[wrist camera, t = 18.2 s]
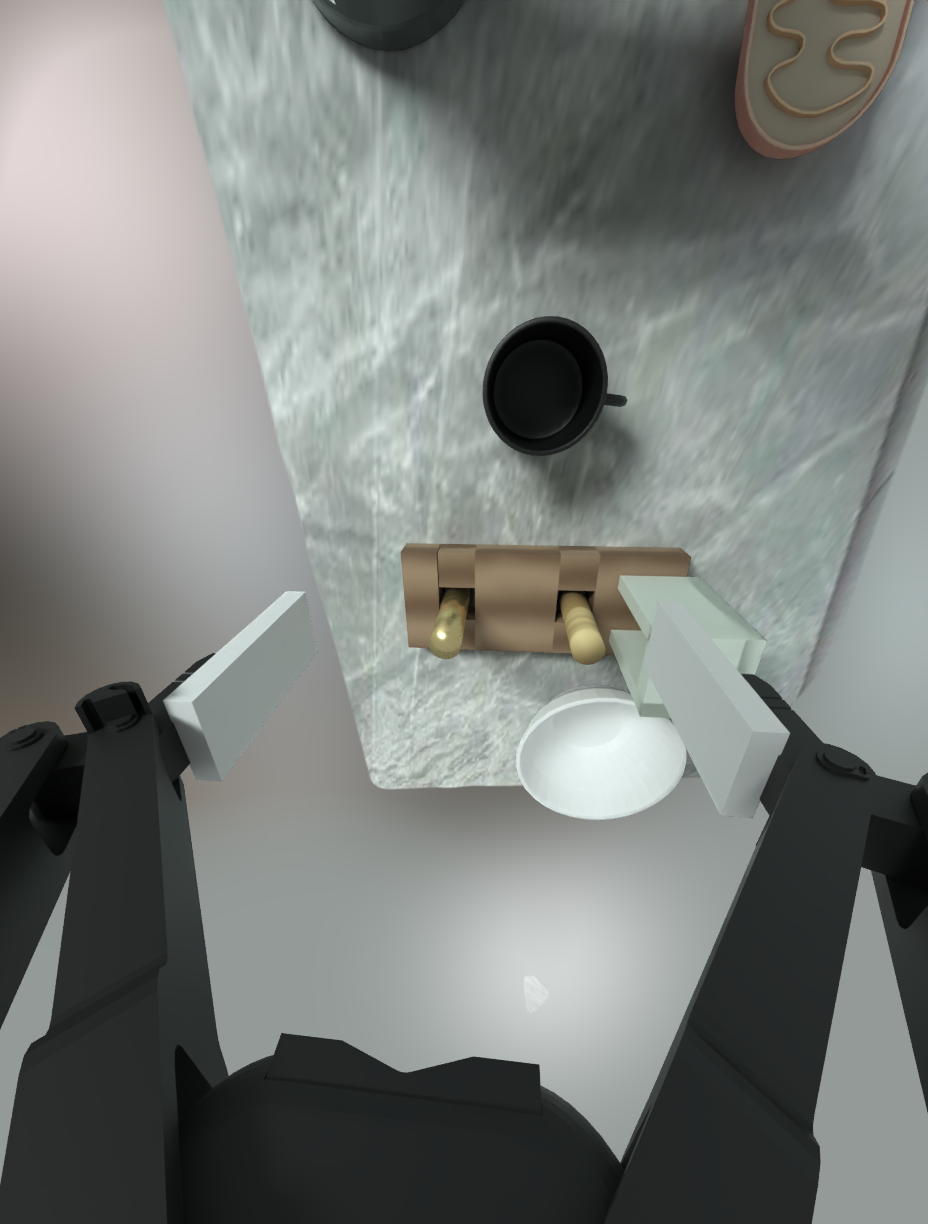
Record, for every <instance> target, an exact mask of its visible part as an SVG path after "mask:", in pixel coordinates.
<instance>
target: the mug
mask: <svg viewBox="0 0 928 1224" xmlns="http://www.w3.org/2000/svg"><path fill="white" fill-rule="evenodd" d="M607 387H608V373H607V366H606V362H605V358H604V355H603V352H602V350H601V348H600V346H599V344H598V343H597V341H596V340H595V338H594V337H593V336H592V335H591V334H590V333H589V332H588V331H587V330H586V329H585V328H584V327H582V326H581V325H579V324H578V323H576V322H574V321H571V320H569V319H566V318H562V317H555V316H546V317H539V318H535V319H532V320H529V321H527V322H525V323H523V324H521V325H519V326H517V327H516V328H515V329H513V330H512V331H511V332H509V333H508V334H507V335H506V336H505V337H504V338H503V340H502V341H501V342H500V343H499V344H498V346H497V347H496V349H495V350H494V352H493V354H492V356H491V358H490V360H489V362H488V365H487V368H486V371H485V376H484V381H483V404H484V408H485V412H486V416H487V418H488V421H489V423H490V425H491V427H492V428H493V430H494V431H495V433H496V434H497V435H498V437H499V438H500V439H501V440H502V441H503V442H504V443H506V444H507V445H508V446H510V447H511V448H513V449H515V450H517V451H519V452H522V453H525V454H529V455H536V456H544V455H552V454H555V453H559V452H561V451H564V450H566V449H568V448H570V447H571V446H573V445H575V444H576V443H577V442H579V441H580V440H581V439H582V438H583V437H584V436H585V435H586V434H587V433H588V432H589V431H590V430H591V428H592V427H593V426H594V424H595V422H596V421H597V419H598V417H599V415H600V413H601V411H602V408H603V406H604V405H611V406H618V407H621V406H624V405H626V402H627V399H626V397H625V396H621V395H614V394H607Z"/></svg>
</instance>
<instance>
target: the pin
mask: <svg viewBox="0 0 928 1224" xmlns="http://www.w3.org/2000/svg"><path fill="white" fill-rule="evenodd" d="M470 594H471V593H470V589H469V588H453V587H447V588H446V591H445V594H444V597H443V600H442V603H441V606H440V610H439V613H438V616H437V619H436V622H435V625H434V629H433V632H432V635H431V638H430V641H429V647H430V650H431V652H432V653H433V654H434V655H435V656H437V657H439V658H442V659H450V658H453V657H455V656H456V655H457V654H458V653H459V651H460V648H461V643H462V638H463V632H464V627H465V621H466V616H467V611H468V605H469V600H470Z"/></svg>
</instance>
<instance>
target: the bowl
mask: <svg viewBox="0 0 928 1224" xmlns="http://www.w3.org/2000/svg"><path fill="white" fill-rule="evenodd" d="M685 765H686V747H685V745H684V743H683V741H682V739H681V737H680V735H679V733H678V731H677V729H676V727H675V725H674V724H673V723H672V722H671V721H670V720H669V719H668V718H654V717H640V715H639V713H638V710H637V708H636V705H635V703H634V701H633V698H632V696H631V694H629V693H627V692H624V691H621V690H618V689H615V688H612V687H607V686H602V685H586V686H579V687H575V688H572V689H569V690H566V691H564V692H562V693H560V694H558V695H557V696H555V697H554V698H553V699H551V700H550V701H549V702H548V703H547V704H546V705H545V706H544V707H543V708H541V710H540V711H539V712H538V713H537V714H536V715H535V716H534V717H533V719H532V721H531V722H530V724H529V726H528V727H527V729H526V731H525V733H524V735H523V737H522V739H521V742H520V744H519V748H518V751H517V755H516V767H517V771H518V775H519V778H520V780H521V782H522V783H523V785H524V787H525V789H526V790H527V791H528V792H529V793H530V794H531V795H532V796H533V797H534V799H536V800H537V801H538V802H540V803H541V804H543V805H544V806H546V807H548V808H550V809H552V810H554V811H555V812H558V813H561V814H564V815H567V816H571V817H576V818H582V819H595V820H602V819H615V818H620V817H624V816H629V815H632V814H635V813H638V812H641V811H643V810H645V809H647V808H649V807H651V806H653V805H655V804H656V803H658V802H659V801H661V800H662V799H663V798H664V797H666V796H667V795H668V794H669V793H670V792H671V791H672V790H673V789H674V788H675V786H676V785H677V784H678V782H679V780H680V778H681V777H682V775H683V773H684V769H685Z"/></svg>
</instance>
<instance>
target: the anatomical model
mask: <svg viewBox="0 0 928 1224" xmlns="http://www.w3.org/2000/svg"><path fill="white" fill-rule="evenodd" d="M914 1H915V0H748V6H747V13H746V20H745V26H744V33H743V40H742V46H741V53H740V59H739V66H738V73H737V79H736V86H735V112H736V117H737V123H738V127H739V129H740V132H741V134H742V136H743V137H744V139H745V140H746V142H747V143H748V145H749V146H750V147H751V148H752V149H753V150H755V151H756V152H757V153H759V154H761V155H763V156H765V157H769V158H774V159H788V158H794V157H798V156H802V155H805V154H807V153H810V152H812V151H814V150H816V149H818V148H820V147H822V146H823V145H825V144H827V143H828V142H830V141H832V140H833V139H835V138H836V137H837V136H839V135H840V134H841V133H843V132H844V131H845V130H847V129H848V128H849V127H850V126H851V125H852V124H854V123H855V122H856V121H857V120H858V119H859V118H860V117H861V115H862V114H863V113H864V112H865V111H866V110H867V109H868V108H869V106H870V105H871V104H872V103H873V102H874V100H875V99H876V97H877V96H878V95H879V93H880V92H881V90H882V89H883V87H884V85H885V84H886V82H887V80H888V79H889V77H890V75H891V73H892V71H893V69H894V67H895V65H896V63H897V61H898V58H899V55H900V51H901V48H902V45H903V42H904V38H905V34H906V30H907V27H908V23H909V19H910V15H911V12H912V8H913V4H914Z"/></svg>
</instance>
